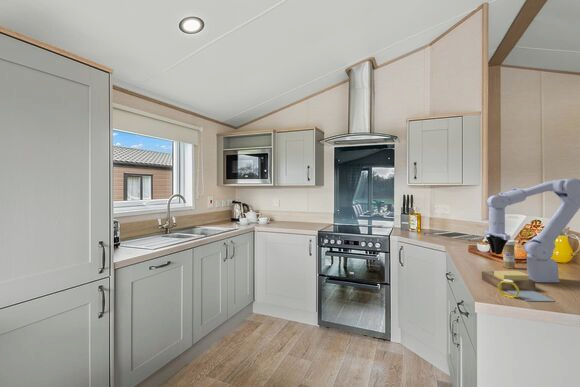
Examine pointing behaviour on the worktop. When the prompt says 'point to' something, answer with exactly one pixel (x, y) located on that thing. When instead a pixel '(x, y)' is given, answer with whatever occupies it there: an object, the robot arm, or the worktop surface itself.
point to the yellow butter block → (511, 275)
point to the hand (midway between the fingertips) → (496, 253)
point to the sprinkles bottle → (509, 255)
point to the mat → (531, 296)
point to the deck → (493, 280)
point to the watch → (509, 283)
